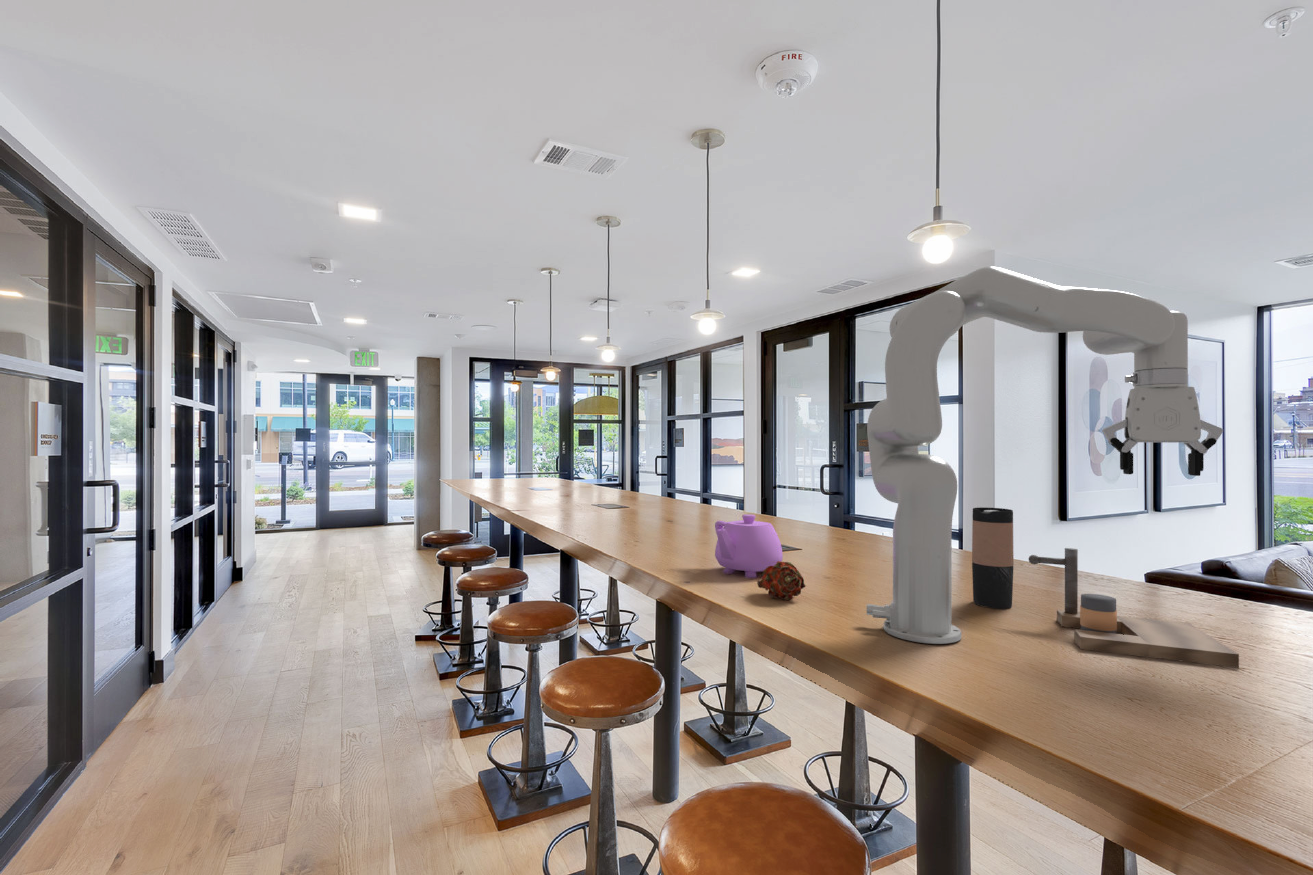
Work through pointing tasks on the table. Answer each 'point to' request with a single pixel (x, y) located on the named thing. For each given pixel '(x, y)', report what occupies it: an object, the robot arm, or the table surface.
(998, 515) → the travel mug
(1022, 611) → the table surface
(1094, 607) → the coffee cup
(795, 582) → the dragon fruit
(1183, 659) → the grey frame with post
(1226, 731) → the table surface
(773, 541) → the teapot
